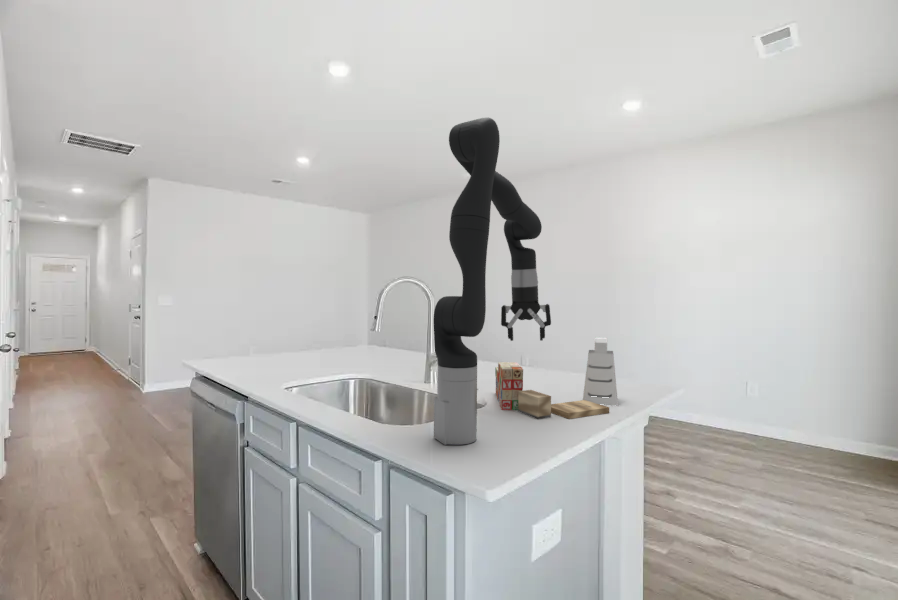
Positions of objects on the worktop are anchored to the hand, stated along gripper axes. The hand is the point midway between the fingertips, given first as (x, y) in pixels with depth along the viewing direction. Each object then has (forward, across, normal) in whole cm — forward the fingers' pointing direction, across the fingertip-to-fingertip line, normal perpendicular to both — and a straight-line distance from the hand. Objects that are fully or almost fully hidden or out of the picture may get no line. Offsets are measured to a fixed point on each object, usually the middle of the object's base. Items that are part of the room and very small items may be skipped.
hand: (526, 340), depth 135 cm
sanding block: (+20, +2, -7) cm, 21 cm away
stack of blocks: (+21, -7, +7) cm, 23 cm away
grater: (+23, +22, +15) cm, 35 cm away
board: (+21, +14, -1) cm, 25 cm away
